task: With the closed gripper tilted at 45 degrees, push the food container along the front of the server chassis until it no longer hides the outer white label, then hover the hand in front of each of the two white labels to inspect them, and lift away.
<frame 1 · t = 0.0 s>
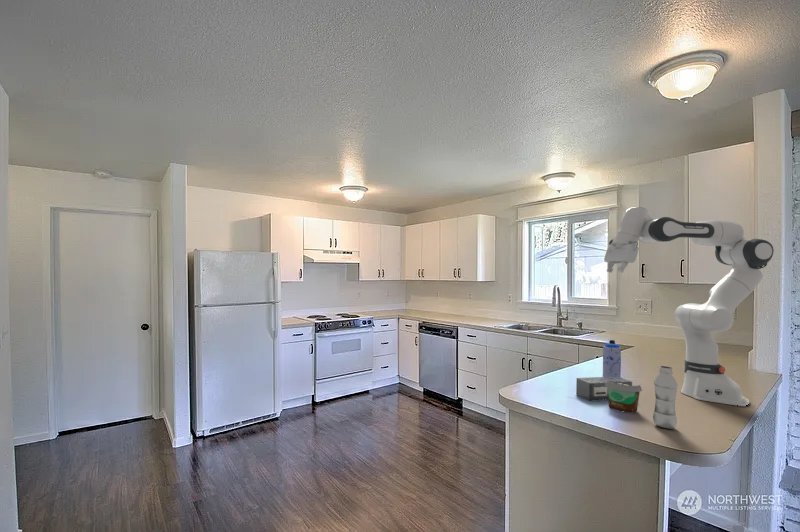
hand: (614, 272, 170), 52 cm above the table, tool tilted 20°, fingers open, 8 cm apart
server chassis: (603, 396, 162), on the table
aerosol can: (611, 383, 184), on the table
plastic bottle: (664, 427, 131), on the table
food container: (620, 410, 147), on the table
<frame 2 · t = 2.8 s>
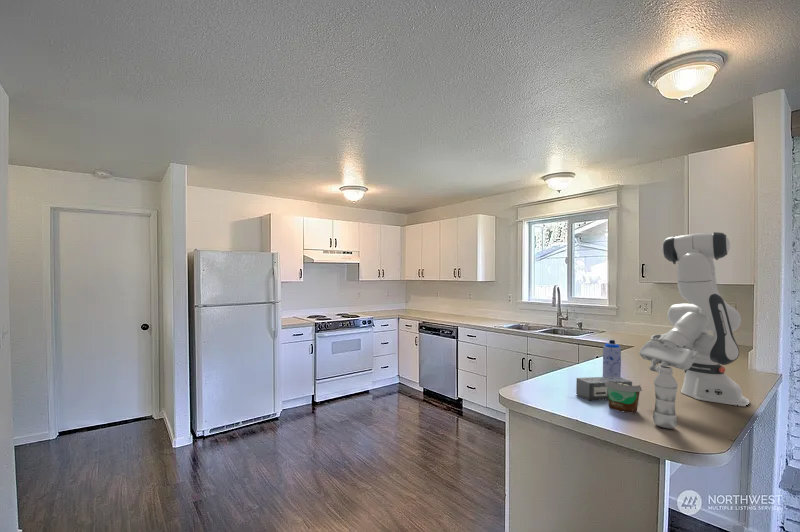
hand: (653, 370, 150), 14 cm above the table, tool tilted 45°, fingers closed
nothing on the table moved.
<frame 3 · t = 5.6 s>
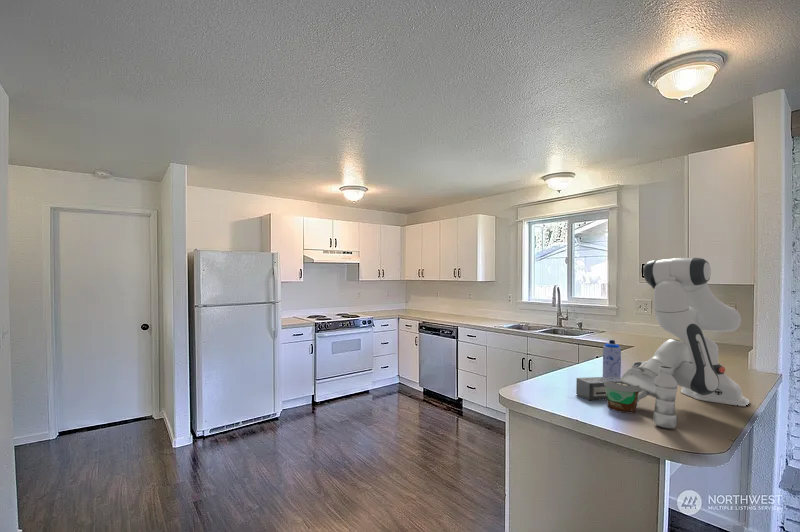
hand: (633, 399, 147), 4 cm above the table, tool tilted 45°, fingers closed
food container: (619, 410, 146), on the table, touching gripper
everything else where it was.
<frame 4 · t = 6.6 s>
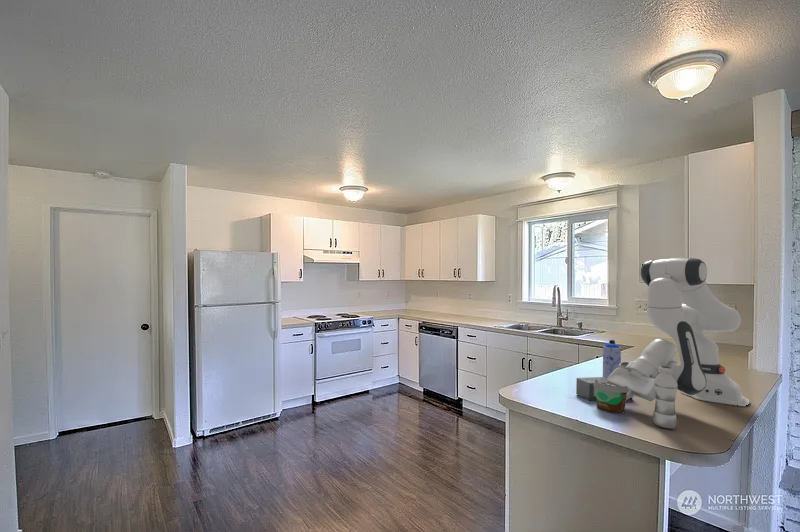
hand: (619, 399, 146), 4 cm above the table, tool tilted 45°, fingers closed
food container: (607, 410, 146), on the table, touching gripper
everything else where it was.
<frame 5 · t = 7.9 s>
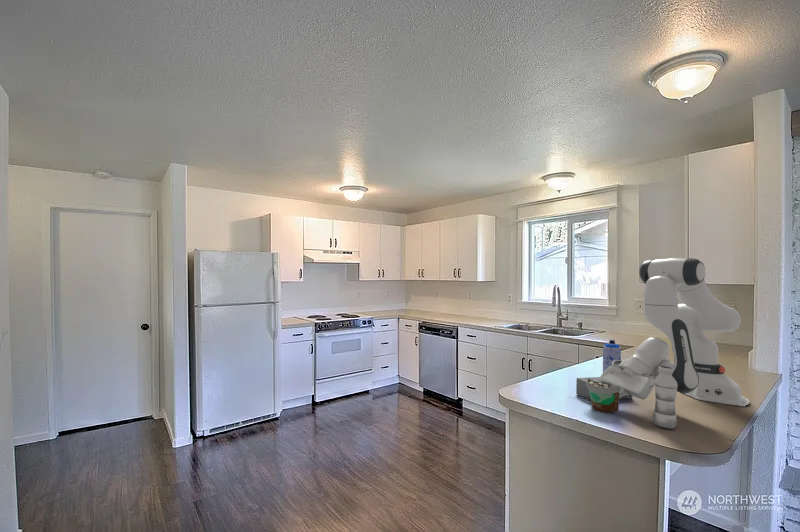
hand: (612, 398, 145), 5 cm above the table, tool tilted 45°, fingers closed
food container: (601, 409, 146), on the table, touching gripper
everything else where it was.
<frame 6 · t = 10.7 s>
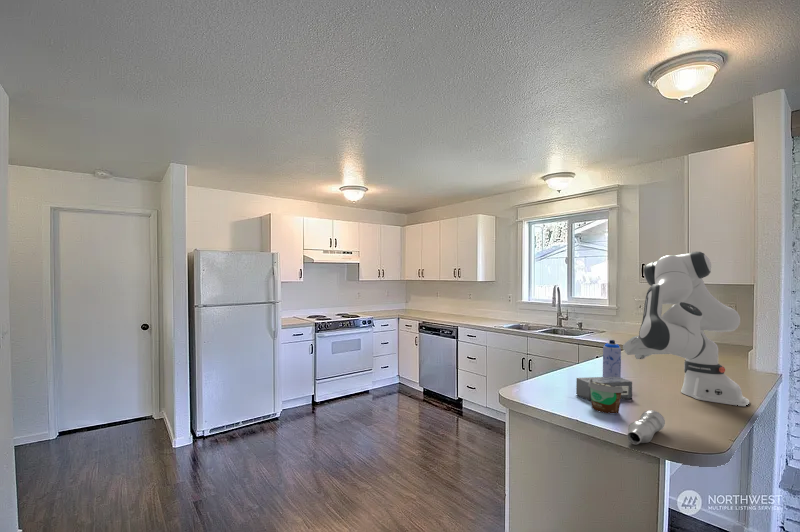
hand: (638, 357, 149), 19 cm above the table, tool tilted 45°, fingers closed
plastic bottle: (655, 418, 129), point 3 cm above the table
food container: (601, 411, 146), on the table
everything else where it was.
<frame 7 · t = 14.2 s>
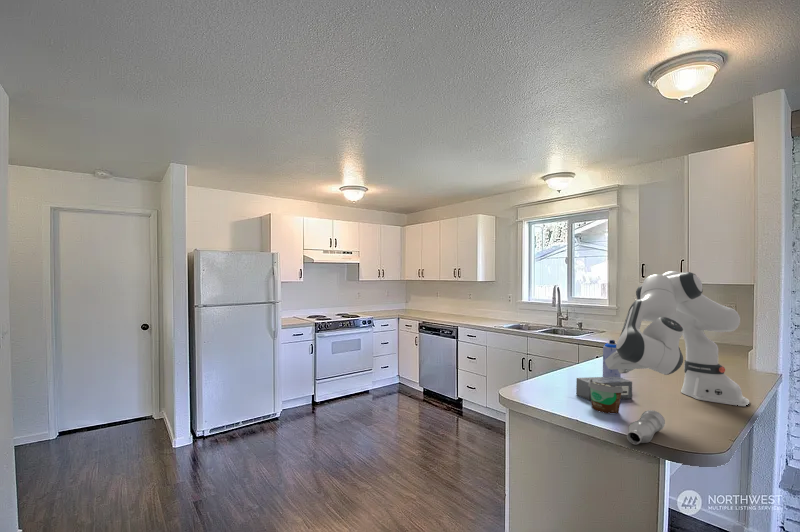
hand: (622, 371, 146), 14 cm above the table, tool tilted 45°, fingers closed
nothing on the table moved.
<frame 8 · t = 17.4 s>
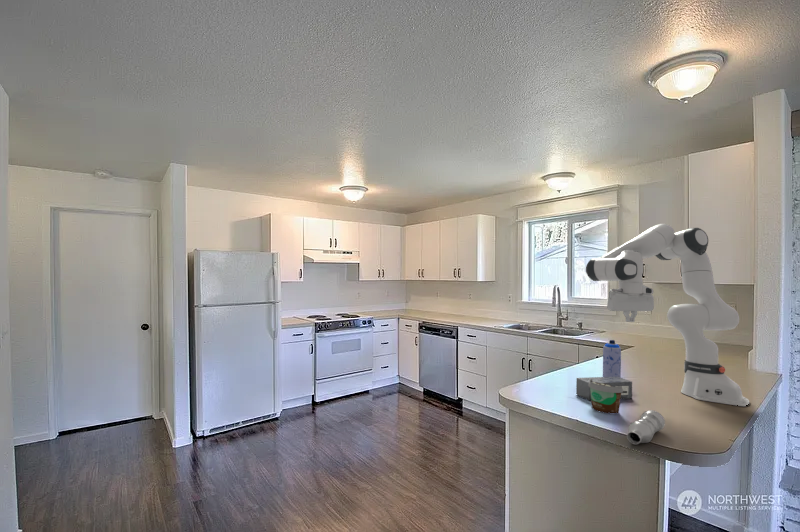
hand: (630, 321, 165), 31 cm above the table, tool pointing down, fingers closed
nothing on the table moved.
at the end: food container inside the target area (3.7 cm from its centre), on the table; food container tilted 0°; food container moved 7.9 cm from its start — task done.
